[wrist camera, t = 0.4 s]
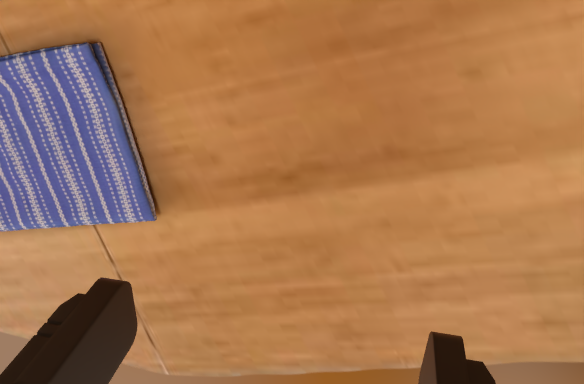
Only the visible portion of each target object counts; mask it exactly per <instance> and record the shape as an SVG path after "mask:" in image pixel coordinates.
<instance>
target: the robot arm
mask: <svg viewBox="0 0 584 384" xmlns="http://www.w3.org/2000/svg"><path fill="white" fill-rule="evenodd" d="M136 332H137V318H136V312H135V305H134V299H133V293H132V287H131V284H130V283H129V282H127V281H121V280H115V279H108V278H100V279H98V280H97V281H96V282H95V283H94V285H93V286H92V287H91V288H90V290H89V291H88V292H87V293H86V294H79V293H78V294H77V295H75V296H74V297H72V298H71V299H69V300H68V301H66V302H64V303H63V304H61V305H60V306H59V307H58V308H57V310H56V311H55V312H54V313H53V314H52V315H51V317H50V318H49V319H48V322H47V323H45V324H44V325H43V326H42V327H41V328H40V329H39V331H38V332H37V335H34V336H33V338H32V339H31V340H30V341H29V342H28V343H27V345H26V346H25V347H24V348H23V349H22V350H21V351H20V353H19V354H18V355H17V356H16V357H15V358H14V360H13V361H12V362H11V363H10V364H9V365H8V367H7V368H6V369H5V370H4V371H3V372H2V374H1V375H0V384H108V383H109V382H110V380H111V378H112V377H113V375H114V373H115V372H116V370H117V369H118V367H119V365H120V364H121V362H122V361H123V359H124V357H125V356H126V354H127V352H128V351H129V349H130V348H131V346H132V344H133V342H134V339H135V336H136ZM419 384H496V383H495V380H494V379H493V377H492V376H491V374H490V373H489V371H488V370H487V368H486V366H485V365H484V363H483V362H479V361H473V360H467V359H466V356H465V350H464V343H463V339H462V337H461V336H456V335H450V334H443V333H437V332H430V334H429V338H428V342H427V346H426V350H425V354H424V358H423V362H422V366H421V371H420V376H419Z"/></svg>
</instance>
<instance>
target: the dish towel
mask: <svg viewBox="0 0 584 384" xmlns="http://www.w3.org/2000/svg"><path fill="white" fill-rule="evenodd" d="M156 219H157V216H156V213H155V207H154V202H153V199H152V196H151V193H150V190H149V186H148V183H147V179H146V176H145V172H144V169H143V166H142V162H141V159H140V156H139V153H138V150H137V147H136V144H135V141H134V138H133V134H132V131H131V128H130V125H129V122H128V119H127V116H126V113H125V110H124V106H123V103H122V100H121V98H120V95H119V93H118V90H117V87H116V85H115V81H114V79H113V75H112V73H111V70H110V68H109V65H108V63H107V60H106V57H105V54H104V52H103V48H102V46H101V43H99V42H98V43H95V44H89V43H87V42H86V43H83V44H74V45H65V46H61V47H52V48H42V49H40V50H35V51H28V52H24V53H17V54H13V55H7V56H5V57H0V231H13V230H16V231H17V230H22V229H35V228H37V229H39V228H52V227H70V226H77V225H94V224H104V223H110V224H114V223H126V222H131V223H136V222H141V221H155V220H156Z"/></svg>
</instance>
